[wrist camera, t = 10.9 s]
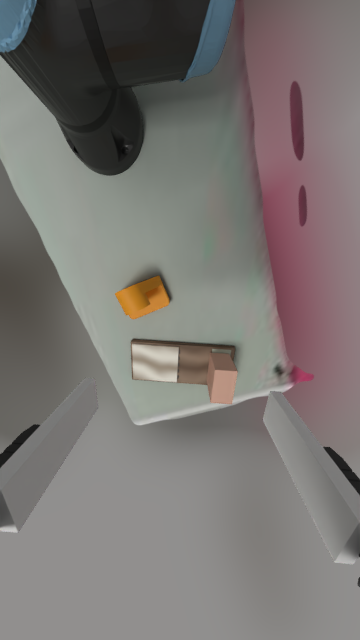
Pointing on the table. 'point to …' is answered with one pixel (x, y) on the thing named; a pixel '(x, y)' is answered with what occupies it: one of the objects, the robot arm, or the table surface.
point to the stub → (221, 378)
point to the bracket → (143, 297)
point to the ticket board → (173, 360)
